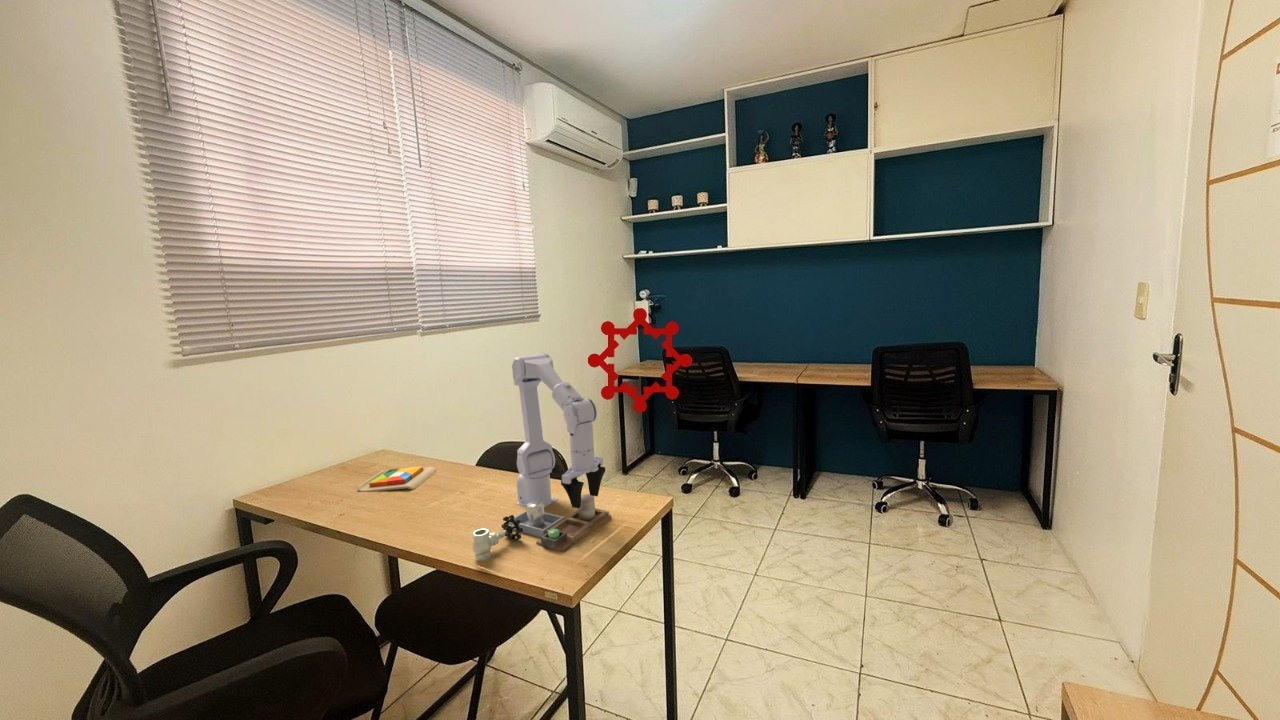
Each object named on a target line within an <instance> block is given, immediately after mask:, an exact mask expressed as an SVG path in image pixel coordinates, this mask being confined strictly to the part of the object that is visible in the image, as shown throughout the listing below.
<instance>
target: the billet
mask: <svg viewBox="0 0 1280 720" xmlns="http://www.w3.org/2000/svg"><path fill="white" fill-rule="evenodd" d="M525 507H526V510H527V520H528V525H530V526H533V527H537V528H541V529H542V528H544V527H545V515H544V512H545V507H544V503H543V502H542V501H533V502H530V503H528V504H527V505H526V506H525Z"/></svg>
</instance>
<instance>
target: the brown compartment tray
mask: <svg viewBox="0 0 1280 720" xmlns="http://www.w3.org/2000/svg"><path fill="white" fill-rule="evenodd" d="M611 517H612V514H610V511H608V510H604V509H601V508H600V509H599V508H596V506H595V496H592V495H590V493H585V494H581V507H580V508H577V510H575V511H573V512H572V513H570V514H569V515H567V516H565V517H564V519H563V520H561V521H560V522H558V523H556V524H555V525H553V526H552V527H550V528H549V529H547V530H546V534H545V535H543V536H542V537H541V538H539V539H538V540H536V541H535V543H536V545H538V546H541V547H545V548H548V549H552V550H556V551H558V552H562V553H564V552H566V551H567V550H568V549H570V548H571V547H573V546H574V545H576V543H578V542H579V541H580V540H582V539H583V538H584V537H586V536H587V535H588V534H590V533H591V532H593V531H594V530H596V529H597V528H598V527H599V526H600V525H602V524H603V523H605V522H606V521H607V520H609V519H610V518H611ZM551 529H558V530H559V537H558V538H557V539H555V540H554V539H550V538H549V536H548V531H549V530H551Z"/></svg>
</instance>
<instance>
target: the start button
mask: <svg viewBox="0 0 1280 720" xmlns="http://www.w3.org/2000/svg"><path fill="white" fill-rule="evenodd" d="M548 536H549V538H550V539H554V540H555V539H557V538H558V537H559V530H558V529H551V530H549V531H548Z"/></svg>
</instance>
